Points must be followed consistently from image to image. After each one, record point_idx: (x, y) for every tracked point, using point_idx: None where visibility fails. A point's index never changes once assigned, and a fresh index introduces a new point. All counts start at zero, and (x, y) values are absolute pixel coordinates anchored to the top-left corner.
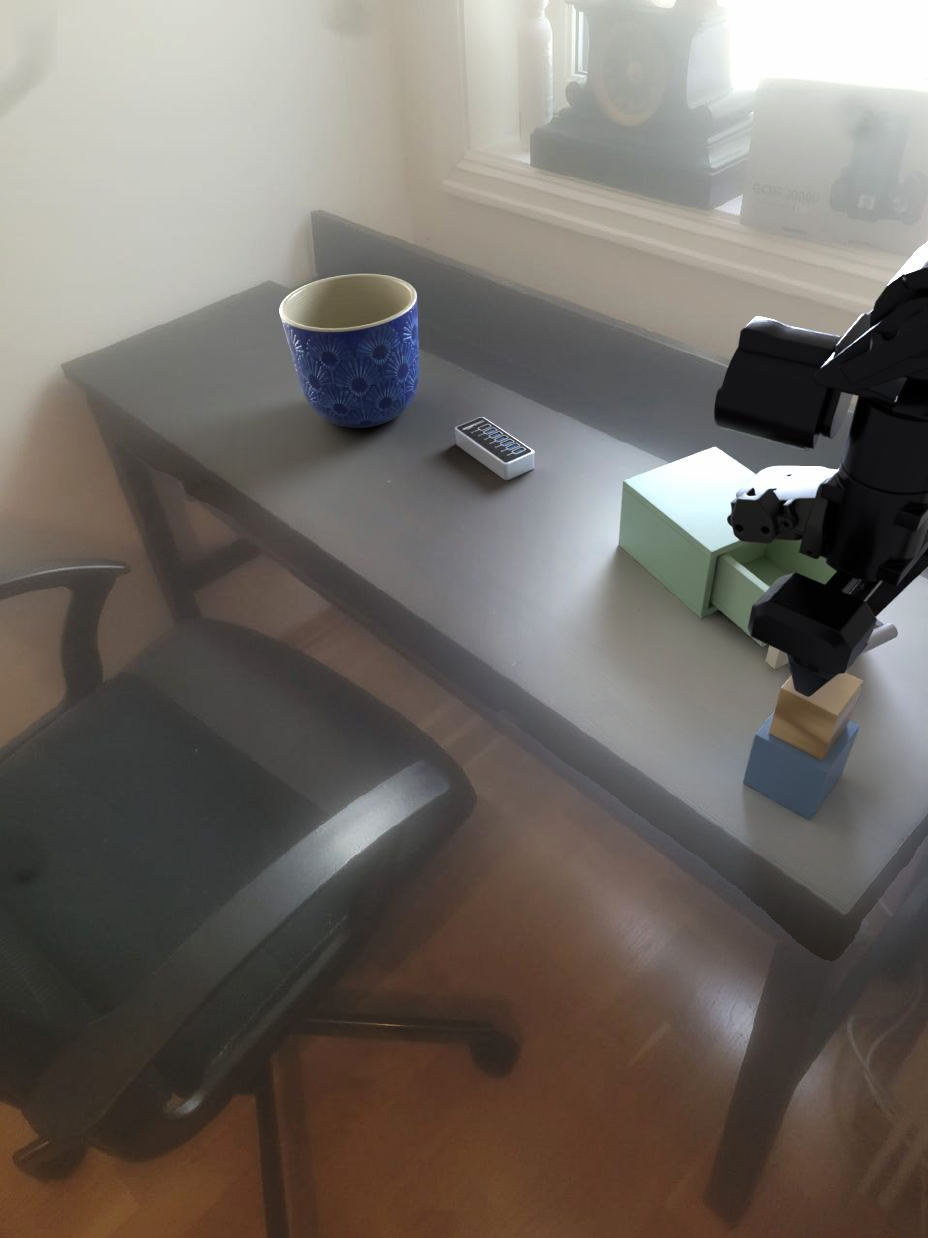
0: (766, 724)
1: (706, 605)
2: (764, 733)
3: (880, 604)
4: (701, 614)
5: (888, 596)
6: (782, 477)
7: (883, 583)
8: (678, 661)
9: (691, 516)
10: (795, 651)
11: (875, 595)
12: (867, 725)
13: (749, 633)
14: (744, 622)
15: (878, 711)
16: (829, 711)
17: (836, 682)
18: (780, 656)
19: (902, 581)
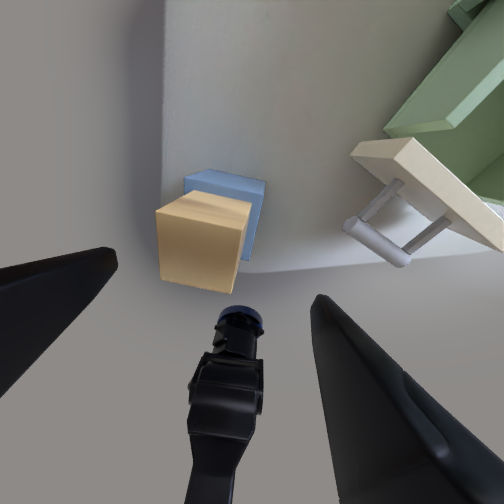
0: (203, 184)
1: (472, 2)
2: (190, 186)
3: (319, 358)
4: (453, 7)
5: (324, 389)
6: None
7: (345, 411)
8: (344, 21)
9: None
10: None
11: (331, 365)
12: (308, 240)
13: (404, 105)
14: (422, 89)
15: (325, 244)
16: (160, 271)
17: (211, 270)
18: (358, 158)
19: (339, 458)
